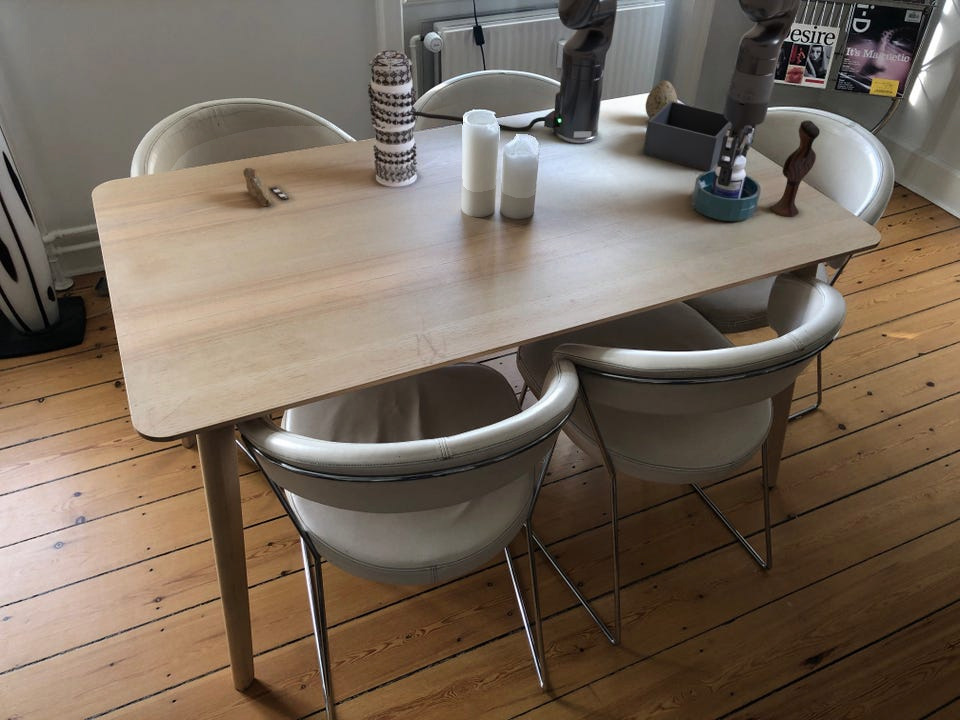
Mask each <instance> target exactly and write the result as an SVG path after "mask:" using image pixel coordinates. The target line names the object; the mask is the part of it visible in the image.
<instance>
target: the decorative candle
mask: <svg viewBox="0 0 960 720" xmlns="http://www.w3.org/2000/svg"><path fill="white" fill-rule="evenodd" d="M368 65H369V66H370V73H371V77H370V82H369V84H367V87H368V90H367V93H368V97H369V98H370V99H369V101H368V102H369V106H370V107H369V111H370V115H371V119H370V120H371V125H372V127H373V128H374V131H375V132H374V133H375V134H374V144H373V152H374V153H373V156H374V162H373V163H374V172H375V180H376V181H377V182H378V183H379V184H380V185H383V186H386V187H393V188H397V187H405V186H409V185H411V184H413V183H414V182H415V181H417V179H418V175H417V172H418V169H417V165H418V162H417V158H416V157H417V155H418V154H417V151H416V150H417V144H416V142H415V135H414V126H415V124H416V120H417V116H415V115H413V114H414V113H415V112H416V108H415V107H414V106H413V105H415V104H416V103H417V99H416V97H415V96H416V94H417V91H416V90H415V89H414V88H413V78H412V68H411V67H412V65H413V60H412V59H410V58H408V56H407V55H406V54H405V53H403V52H401V51H398V50H384V51H380V52H378V53H376V54H375V55H374V57H373V58H372V59H371V60H369V63H368Z"/></svg>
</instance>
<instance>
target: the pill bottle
mask: <svg viewBox="0 0 960 720" xmlns="http://www.w3.org/2000/svg"><path fill="white" fill-rule="evenodd" d="M729 160H730V158H729V157H726V161H729ZM746 164H747V157H746V158H745V157H744V156H742V155H741V156H740V157H738V158H737V160H736V163H735V167H734V169H733V173H732V178H731V182H730V185H729V186H727V187H726V186H722V185H719V184H718V178H719V174H720V169H721V167H718V166H717V167H716V169H715V170H716V171H715V176H714V181H713V185H712V190H711V194H713V195H716V196H720V197H724V198H732V199H737V198H741V194H742V190H743V185H744V181H745V176H746V175H747V173H746V172H747V171H746V170H745V168H746Z"/></svg>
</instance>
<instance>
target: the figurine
mask: <svg viewBox="0 0 960 720" xmlns="http://www.w3.org/2000/svg"><path fill="white" fill-rule="evenodd" d="M820 133H821V131H820V128H819V127H818V126H817V125H816V124H815V122H813V121H812V120H804V121H801V122H800V126H799V128H798V136H799V137H798V138H799V146H798V148H796V150H794V151H793V152H792V153H790V155H788V156H787V158H786V159H785V162H784V164H783V167H782V175H783V177H784V178H786V184H785V188H784V191H783V195H782V196H781V198H780V199H779V200H778V201H777V202H776V203H774V204H773V205H772V207H771V210H772V211H773V212H775V213H776V214H778V215H780V216H782V217H783V216H784V217H789V218H792V217H797V215H799V209H798V208H797V205H796V197H797V194H798V190H799V187H800V185H801V183H802V180H803V179H804V178H805V177H806V176H807V175H808V174H809V172H810V171H811V170H812V168H813V167H814V165H815V163H816V160H817V155H816V152H815V151H814V150H813V143H814V141H815V140H816V139H817V138H818V137H819V135H820Z"/></svg>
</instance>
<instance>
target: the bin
mask: <svg viewBox="0 0 960 720" xmlns="http://www.w3.org/2000/svg"><path fill="white" fill-rule="evenodd" d="M731 126H732V124H731V122H729V121H728V120H726V119H725V118H724V116H723V112H720V111H715V110H711V109H707V108H702V107H699V106H695V105H689V104H685V103H681V102H678V101H677V102H673V101H670V102H669V103H668V104H667V105H666V106H664V107H663V108H662V109H661V110H660V111H659V112H658V113H657V114H655V115H654V116H653V117H652V118H651V119H650V118H649V119H648V120H647V124H646V130H645V131H646V132H645V137H644V144H643V151H642V155H645V156H649V157H653V158H657V159H660V160H665V161H667V162H673V163H676V164H680V165H684V166H687V167H690V168H695V169H699V170H702V171H705V172H707V171H712V170H713V168H714V167H715V166H717V165H718V164H717V163H718V160H719V155H720V151H721V146H722V142H723V137H724V136H725V135H726V134H727V131H728V129H729V128H730V129H731Z"/></svg>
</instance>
